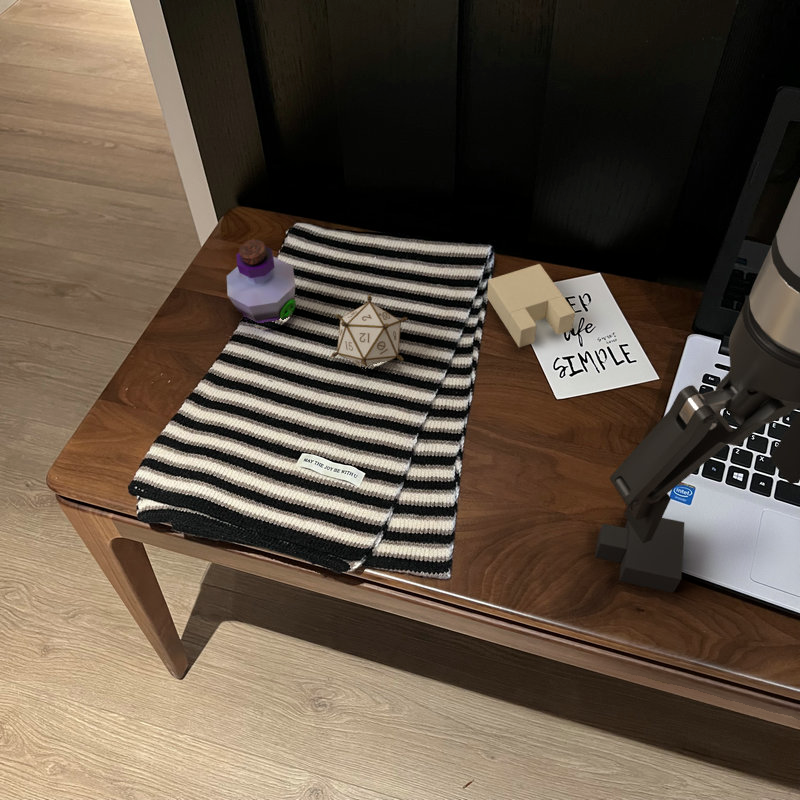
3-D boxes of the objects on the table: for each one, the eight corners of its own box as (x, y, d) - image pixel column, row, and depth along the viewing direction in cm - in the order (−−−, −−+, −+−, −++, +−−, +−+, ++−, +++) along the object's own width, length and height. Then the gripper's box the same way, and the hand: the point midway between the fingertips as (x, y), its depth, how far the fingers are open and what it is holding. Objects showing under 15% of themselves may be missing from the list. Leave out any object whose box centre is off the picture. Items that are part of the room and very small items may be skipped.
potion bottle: (293, 350, 94) (276, 279, 85) (226, 340, 96) (202, 269, 86) (313, 299, 99) (299, 227, 90) (249, 291, 101) (229, 218, 91)
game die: (369, 366, 97) (370, 286, 94) (420, 379, 92) (423, 294, 89) (315, 378, 91) (315, 293, 88) (367, 393, 85) (368, 302, 82)
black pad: (674, 541, 77) (684, 522, 74) (671, 596, 74) (681, 579, 70) (598, 525, 78) (604, 505, 75) (591, 579, 75) (597, 561, 72)
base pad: (570, 335, 94) (575, 312, 91) (518, 352, 93) (521, 330, 89) (536, 286, 99) (539, 263, 96) (486, 302, 98) (488, 279, 94)
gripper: (937, 219, 50) (811, 413, 67) (590, 336, 45) (550, 512, 62) (1034, 297, 45) (873, 483, 62) (662, 435, 41) (597, 595, 58)
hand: (712, 498), depth 62 cm, fingers open, 13 cm apart
